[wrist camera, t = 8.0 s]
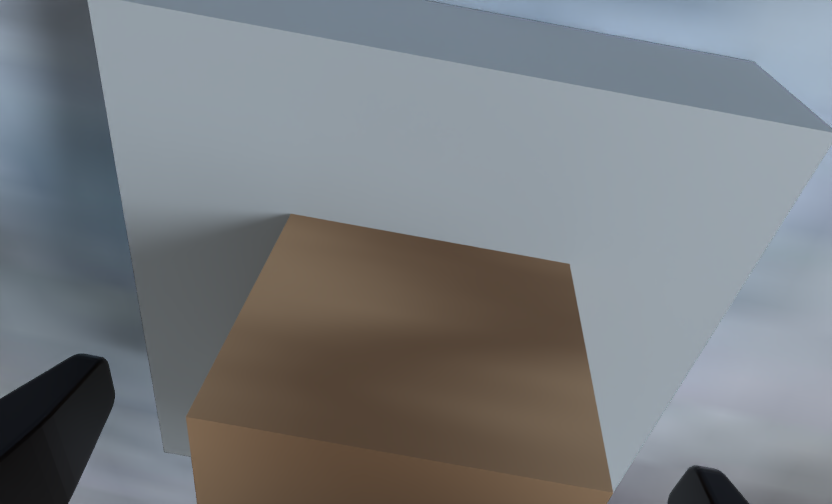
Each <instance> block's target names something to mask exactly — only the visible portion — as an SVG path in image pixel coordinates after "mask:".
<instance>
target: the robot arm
mask: <svg viewBox="0 0 832 504" xmlns="http://www.w3.org/2000/svg"><path fill="white" fill-rule="evenodd" d="M114 399H115V390H114V386H113V381H112V377H111V373H110V368H109V364H108V361H107V360H106V359H105V358H103V357H99V356H94V355H88V354H76V355H73V356H71V357H69V358H68V359H66V360H64V361H63V362H61V363H59V364H58V365H56V366H54V367H53V368H51V369H49V370H48V371H46V372H44V373H43V374H41V375H39V376H38V377H36V378H34V379H33V380H31V381H29V382H28V383H26V384H24V385H22V386H21V387H19V388H17V389H16V390H14V391H12V392H11V393H9V394H7V395H6V396H4V397H2V398H1V399H0V504H68V503H69V501H70V499H71V497H72V495H73V493H74V491H75V489H76V487H77V484H78V482H79V480H80V478H81V476H82V473H83V471H84V469H85V467H86V465H87V462H88V460H89V458H90V456H91V454H92V451H93V449H94V447H95V445H96V443H97V440H98V438H99V436H100V434H101V431H102V429H103V427H104V425H105V423H106V420H107V418H108V416H109V414H110V412H111V409H112V407H113V404H114ZM668 504H749V503H748V501H747V500H746V499H745V498H744V497H743V496H742V494H741V493H740V492H739V491H738V490H737V488H736V487H735V486H734V485H733V484H732V482H731V481H730V480H729V479H728V478H727V477H726V476H725V474H723V473H722V472H721V471H719V470H717V469H714V468H708V467H703V466H697V465H694V466H691V467H689V468H688V470H687V471H686V472H685V474H684V475H683V476H682V478H681V479H680V480H679V482H678V483H677V485H676V486H675V487H674V489H673V490H672V491H671V493H670V495H669V498H668Z"/></svg>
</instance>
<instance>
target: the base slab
mask: <svg viewBox="0 0 832 504" xmlns="http://www.w3.org/2000/svg"><path fill="white" fill-rule="evenodd" d="M87 1H88V7H89V13H90V18H91V24H92V30H93V36H94V42H95V48H96V54H97V60H98V66H99V71H100V77H101V83H102V89H103V95H104V101H105V107H106V113H107V119H108V124H109V130H110V136H111V142H112V148H113V154H114V160H115V166H116V172H117V177H118V183H119V189H120V195H121V201H122V207H123V213H124V219H125V225H126V230H127V236H128V242H129V248H130V254H131V260H132V266H133V272H134V278H135V283H136V289H137V295H138V301H139V307H140V313H141V319H142V325H143V331H144V337H145V342H146V348H147V354H148V360H149V366H150V372H151V378H152V384H153V390H154V395H155V401H156V407H157V413H158V419H159V425H160V431H161V437H162V443H163V448H164V452H166V453H172V454H177V455H183V456H189V457H191V452H190V445H189V437H188V430H187V422H186V415H187V414H188V412H189V410H190V408H191V406H192V404H193V402H194V400H195V398H196V396H197V394H198V392H199V390H200V388H201V386H202V385H203V383H204V381H205V379H206V377H207V375H208V373H209V371H210V369H211V367H212V365H213V363H214V361H215V359H216V357H217V356H218V354H219V352H220V350H221V348H222V346H223V344H224V342H225V340H226V338H227V336H228V334H229V332H230V330H231V328H232V327H233V325H234V323H235V321H236V319H237V317H238V315H239V313H240V311H241V309H242V307H243V305H244V303H245V301H246V299H247V298H248V296H249V294H250V292H251V290H252V288H253V286H254V284H255V282H256V280H257V278H258V276H259V274H260V272H261V270H262V269H263V267H264V265H265V263H266V261H267V259H268V257H269V255H270V253H271V251H272V249H273V247H274V245H275V243H276V241H277V240H278V238H279V236H280V234H281V232H282V230H283V228H284V226H285V224H286V222H287V220H288V218H289V216H290V214H296V215H301V216H307V217H313V218H318V219H324V220H329V221H335V222H340V223H346V224H351V225H357V226H362V227H368V228H374V229H379V230H385V231H390V232H396V233H401V234H407V235H412V236H418V237H424V238H429V239H435V240H440V241H446V242H451V243H457V244H462V245H468V246H474V247H479V248H485V249H490V250H496V251H501V252H507V253H512V254H518V255H524V256H529V257H535V258H540V259H546V260H551V261H557V262H562V263H568V264H570V268H571V273H572V279H573V284H574V289H575V294H576V300H577V305H578V310H579V315H580V321H581V326H582V331H583V336H584V342H585V347H586V352H587V357H588V363H589V368H590V373H591V378H592V384H593V389H594V394H595V399H596V405H597V410H598V415H599V420H600V426H601V431H602V436H603V441H604V447H605V452H606V457H607V462H608V468H609V473H610V478H611V483H612V489H613V492H614V491H615V489H616V488H617V486H618V484H619V483H620V481H621V480H622V478H623V476H624V475H625V473H626V472H627V470H628V468H629V467H630V465H631V464H632V462H633V460H634V459H635V457H636V456H637V454H638V452H639V451H640V449H641V448H642V446H643V445H644V443H645V441H646V440H647V438H648V437H649V435H650V433H651V432H652V430H653V429H654V427H655V425H656V424H657V422H658V421H659V419H660V417H661V416H662V414H663V413H664V411H665V409H666V408H667V406H668V405H669V403H670V401H671V400H672V398H673V397H674V395H675V393H676V392H677V390H678V389H679V387H680V386H681V384H682V382H683V381H684V379H685V378H686V376H687V374H688V373H689V371H690V370H691V368H692V366H693V365H694V363H695V362H696V360H697V358H698V357H699V355H700V354H701V352H702V350H703V349H704V347H705V346H706V344H707V342H708V341H709V339H710V338H711V336H712V334H713V333H714V331H715V330H716V328H717V327H718V325H719V323H720V322H721V320H722V319H723V317H724V315H725V314H726V312H727V311H728V309H729V307H730V306H731V304H732V303H733V301H734V299H735V298H736V296H737V295H738V293H739V291H740V290H741V288H742V287H743V285H744V283H745V282H746V280H747V279H748V277H749V275H750V274H751V272H752V271H753V269H754V268H755V266H756V264H757V263H758V261H759V260H760V258H761V256H762V255H763V253H764V252H765V250H766V248H767V247H768V245H769V244H770V242H771V240H772V239H773V237H774V236H775V234H776V232H777V231H778V229H779V228H780V226H781V224H782V223H783V221H784V220H785V218H786V216H787V215H788V213H789V212H790V210H791V209H792V207H793V205H794V204H795V202H796V201H797V199H798V197H799V196H800V194H801V193H802V191H803V189H804V188H805V186H806V185H807V183H808V181H809V180H810V178H811V177H812V175H813V173H814V172H815V170H816V169H817V167H818V165H819V164H820V162H821V161H822V159H823V157H824V156H825V154H826V153H827V151H828V150H829V148H830V146H831V145H832V128H831V127H830V126H829V125H828V124H826V123H825V122H824V121H823V120H822V119H821V118H819V117H818V116H817V115H816V114H815V113H814V112H812V111H811V110H810V109H809V108H808V107H807V106H805V105H804V104H803V103H802V102H801V101H800V100H798V99H797V98H796V97H795V96H794V95H793V94H791V93H790V92H789V91H788V90H787V89H786V88H784V87H783V86H782V85H781V84H780V83H779V82H777V81H776V80H775V79H774V78H773V77H772V76H770V75H769V74H768V73H767V72H766V71H764V70H763V69H762V68H761V67H760V66H759V65H757V64H756V63H755V62H753V61H748V60H742V59H737V58H731V57H726V56H721V55H715V54H710V53H705V52H699V51H694V50H689V49H683V48H678V47H673V46H667V45H662V44H657V43H651V42H646V41H640V40H635V39H630V38H624V37H619V36H614V35H608V34H603V33H598V32H592V31H587V30H582V29H576V28H571V27H566V26H560V25H555V24H550V23H544V22H539V21H533V20H528V19H523V18H517V17H512V16H507V15H501V14H496V13H491V12H485V11H480V10H475V9H469V8H464V7H459V6H453V5H448V4H442V3H437V2H432V1H426V0H87Z"/></svg>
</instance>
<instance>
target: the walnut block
mask: <svg viewBox="0 0 832 504" xmlns="http://www.w3.org/2000/svg"><path fill="white" fill-rule="evenodd" d="M186 422H187V430H188V437H189V445H190V452H191V460H192V468H193V475H194V483H195V490H196V498H197V504H607V502H608V500H609V499H610V497H611V496H612V494H613V489H612V483H611V478H610V473H609V468H608V462H607V457H606V452H605V447H604V441H603V436H602V431H601V426H600V420H599V415H598V410H597V405H596V399H595V394H594V389H593V384H592V378H591V373H590V368H589V363H588V357H587V352H586V347H585V342H584V336H583V331H582V326H581V321H580V315H579V310H578V305H577V300H576V294H575V289H574V284H573V279H572V273H571V268H570V264H568V263H562V262H557V261H551V260H546V259H540V258H535V257H529V256H524V255H518V254H512V253H507V252H501V251H496V250H490V249H485V248H479V247H474V246H468V245H462V244H457V243H451V242H446V241H440V240H435V239H429V238H424V237H418V236H412V235H407V234H401V233H396V232H390V231H385V230H379V229H374V228H368V227H362V226H357V225H351V224H346V223H340V222H335V221H329V220H324V219H318V218H313V217H307V216H301V215H296V214H290V216H289V218H288V220H287V222H286V224H285V226H284V228H283V230H282V232H281V234H280V236H279V238H278V240H277V241H276V243H275V245H274V247H273V249H272V251H271V253H270V255H269V257H268V259H267V261H266V263H265V265H264V267H263V269H262V270H261V272H260V274H259V276H258V278H257V280H256V282H255V284H254V286H253V288H252V290H251V292H250V294H249V296H248V298H247V299H246V301H245V303H244V305H243V307H242V309H241V311H240V313H239V315H238V317H237V319H236V321H235V323H234V325H233V327H232V328H231V330H230V332H229V334H228V336H227V338H226V340H225V342H224V344H223V346H222V348H221V350H220V352H219V354H218V356H217V357H216V359H215V361H214V363H213V365H212V367H211V369H210V371H209V373H208V375H207V377H206V379H205V381H204V383H203V385H202V386H201V388H200V390H199V392H198V394H197V396H196V398H195V400H194V402H193V404H192V406H191V408H190V410H189V412H188V414H187V415H186Z"/></svg>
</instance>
